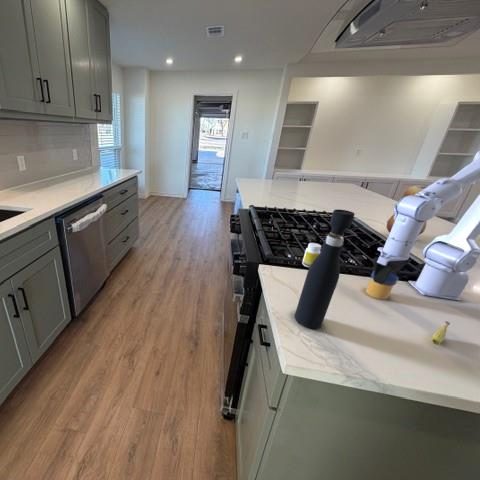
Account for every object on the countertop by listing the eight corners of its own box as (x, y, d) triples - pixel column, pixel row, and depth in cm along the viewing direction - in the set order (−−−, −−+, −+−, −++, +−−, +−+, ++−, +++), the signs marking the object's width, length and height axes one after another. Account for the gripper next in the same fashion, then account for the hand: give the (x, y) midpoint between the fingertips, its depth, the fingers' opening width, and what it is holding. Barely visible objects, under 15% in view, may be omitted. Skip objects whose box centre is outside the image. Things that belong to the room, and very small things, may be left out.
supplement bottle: (318, 269, 92) (324, 248, 89) (304, 267, 93) (310, 246, 90) (313, 262, 97) (319, 243, 93) (300, 261, 97) (305, 241, 94)
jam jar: (382, 291, 80) (390, 273, 78) (391, 301, 76) (400, 283, 73) (362, 288, 82) (369, 271, 79) (370, 297, 77) (378, 280, 74)
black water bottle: (289, 312, 69) (320, 207, 57) (311, 312, 70) (346, 207, 58) (303, 329, 64) (341, 216, 52) (327, 328, 64) (370, 216, 52)
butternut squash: (411, 245, 115) (437, 191, 105) (377, 235, 126) (397, 184, 115) (423, 240, 121) (449, 188, 111) (390, 230, 132) (410, 182, 122)
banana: (436, 331, 64) (443, 319, 63) (445, 336, 63) (453, 323, 61) (426, 344, 60) (434, 332, 58) (436, 350, 59) (445, 336, 57)
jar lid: (365, 273, 79) (367, 269, 79) (384, 274, 79) (386, 269, 79) (381, 284, 74) (383, 279, 73) (401, 285, 74) (404, 280, 73)
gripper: (395, 230, 78) (378, 268, 83) (372, 238, 71) (356, 279, 76) (425, 238, 72) (405, 278, 77) (404, 248, 65) (383, 291, 71)
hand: (383, 279), depth 77 cm, fingers closed on jar lid, 6 cm apart
